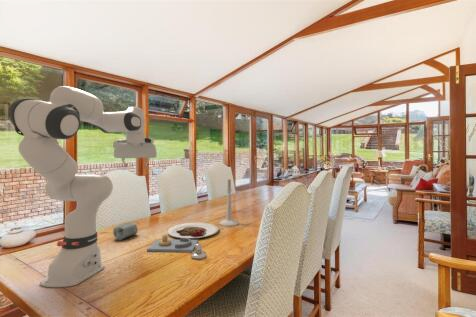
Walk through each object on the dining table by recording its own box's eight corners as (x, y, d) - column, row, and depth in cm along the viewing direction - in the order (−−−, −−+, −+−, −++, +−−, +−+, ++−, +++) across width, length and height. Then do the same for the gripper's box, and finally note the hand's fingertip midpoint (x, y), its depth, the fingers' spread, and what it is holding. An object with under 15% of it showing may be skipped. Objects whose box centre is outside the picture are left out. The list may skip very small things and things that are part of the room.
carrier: (192, 252, 126) (192, 240, 125) (147, 251, 126) (146, 239, 126) (197, 242, 140) (197, 231, 139) (157, 241, 140) (157, 230, 140)
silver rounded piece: (204, 260, 117) (204, 246, 117) (189, 259, 117) (189, 246, 117) (207, 254, 124) (207, 241, 124) (192, 253, 124) (192, 241, 124)
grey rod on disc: (235, 220, 183) (235, 177, 182) (241, 225, 171) (241, 179, 170) (217, 222, 179) (217, 178, 178) (222, 227, 167) (222, 180, 166)
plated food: (190, 223, 177) (190, 218, 177) (228, 229, 162) (228, 224, 162) (156, 235, 151) (156, 229, 151) (197, 244, 136) (197, 238, 136)
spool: (120, 237, 138) (119, 218, 142) (109, 242, 141) (108, 224, 146) (142, 236, 149) (140, 219, 153) (131, 241, 153) (130, 225, 157)
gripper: (112, 139, 127) (112, 167, 127) (156, 139, 133) (156, 167, 133) (114, 139, 133) (114, 167, 133) (156, 140, 139) (156, 166, 139)
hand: (136, 167), depth 133 cm, fingers open, 8 cm apart
